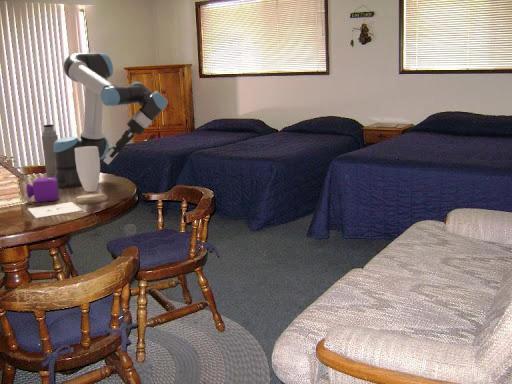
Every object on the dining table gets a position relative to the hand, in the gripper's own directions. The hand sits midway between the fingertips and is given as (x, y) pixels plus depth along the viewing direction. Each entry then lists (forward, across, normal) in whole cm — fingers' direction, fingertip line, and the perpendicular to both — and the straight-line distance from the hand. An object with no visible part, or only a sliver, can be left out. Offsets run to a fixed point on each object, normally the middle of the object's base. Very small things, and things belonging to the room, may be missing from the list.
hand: (106, 160), depth 239 cm
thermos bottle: (+36, +68, +11) cm, 77 cm away
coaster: (+18, 0, -7) cm, 19 cm away
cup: (+17, 0, -6) cm, 18 cm away
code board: (+27, -12, +3) cm, 30 cm away
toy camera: (+33, +8, +8) cm, 35 cm away
